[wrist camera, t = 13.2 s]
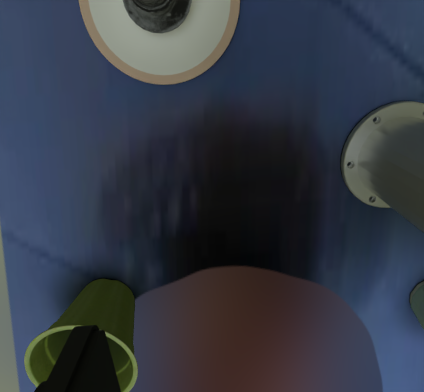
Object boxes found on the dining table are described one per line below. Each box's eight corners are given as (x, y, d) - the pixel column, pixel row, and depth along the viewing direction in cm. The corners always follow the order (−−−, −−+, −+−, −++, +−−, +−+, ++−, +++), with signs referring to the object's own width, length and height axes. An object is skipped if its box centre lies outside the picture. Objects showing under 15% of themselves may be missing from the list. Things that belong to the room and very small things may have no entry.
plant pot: (85, 247, 43) (49, 308, 33) (166, 286, 46) (157, 354, 35) (49, 311, 47) (6, 384, 36) (126, 343, 49) (107, 420, 39)
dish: (229, -106, 30) (230, -114, 28) (245, 72, 36) (247, 73, 34) (62, -81, 30) (55, -88, 29) (105, 92, 36) (101, 94, 34)
